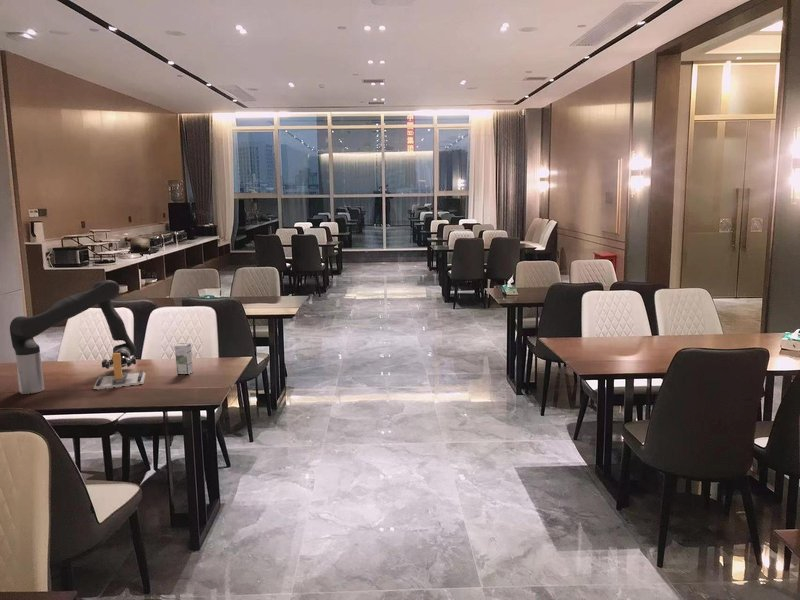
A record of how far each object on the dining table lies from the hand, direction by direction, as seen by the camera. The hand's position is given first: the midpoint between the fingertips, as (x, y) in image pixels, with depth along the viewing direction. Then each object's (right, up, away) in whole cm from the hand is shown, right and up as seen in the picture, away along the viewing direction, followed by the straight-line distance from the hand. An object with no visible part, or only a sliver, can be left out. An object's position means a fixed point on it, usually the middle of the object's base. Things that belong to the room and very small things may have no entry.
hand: (117, 365), depth 284 cm
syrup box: (+25, -6, +16) cm, 30 cm away
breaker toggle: (+1, -6, 0) cm, 6 cm away
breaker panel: (-1, -8, +5) cm, 10 cm away
